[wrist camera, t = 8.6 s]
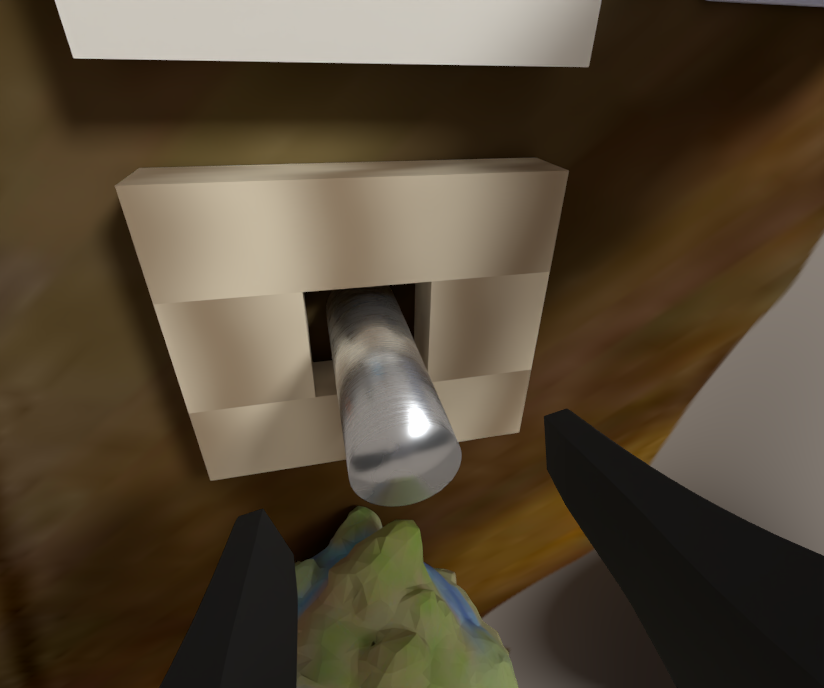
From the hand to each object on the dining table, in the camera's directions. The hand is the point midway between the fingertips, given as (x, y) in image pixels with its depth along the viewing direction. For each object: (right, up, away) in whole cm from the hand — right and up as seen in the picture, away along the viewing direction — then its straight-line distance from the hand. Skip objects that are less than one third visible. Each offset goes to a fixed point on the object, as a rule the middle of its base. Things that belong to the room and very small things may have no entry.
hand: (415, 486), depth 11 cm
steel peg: (-2, +5, +8) cm, 10 cm away
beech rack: (-2, +5, +8) cm, 10 cm away
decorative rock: (-3, -9, +17) cm, 20 cm away
